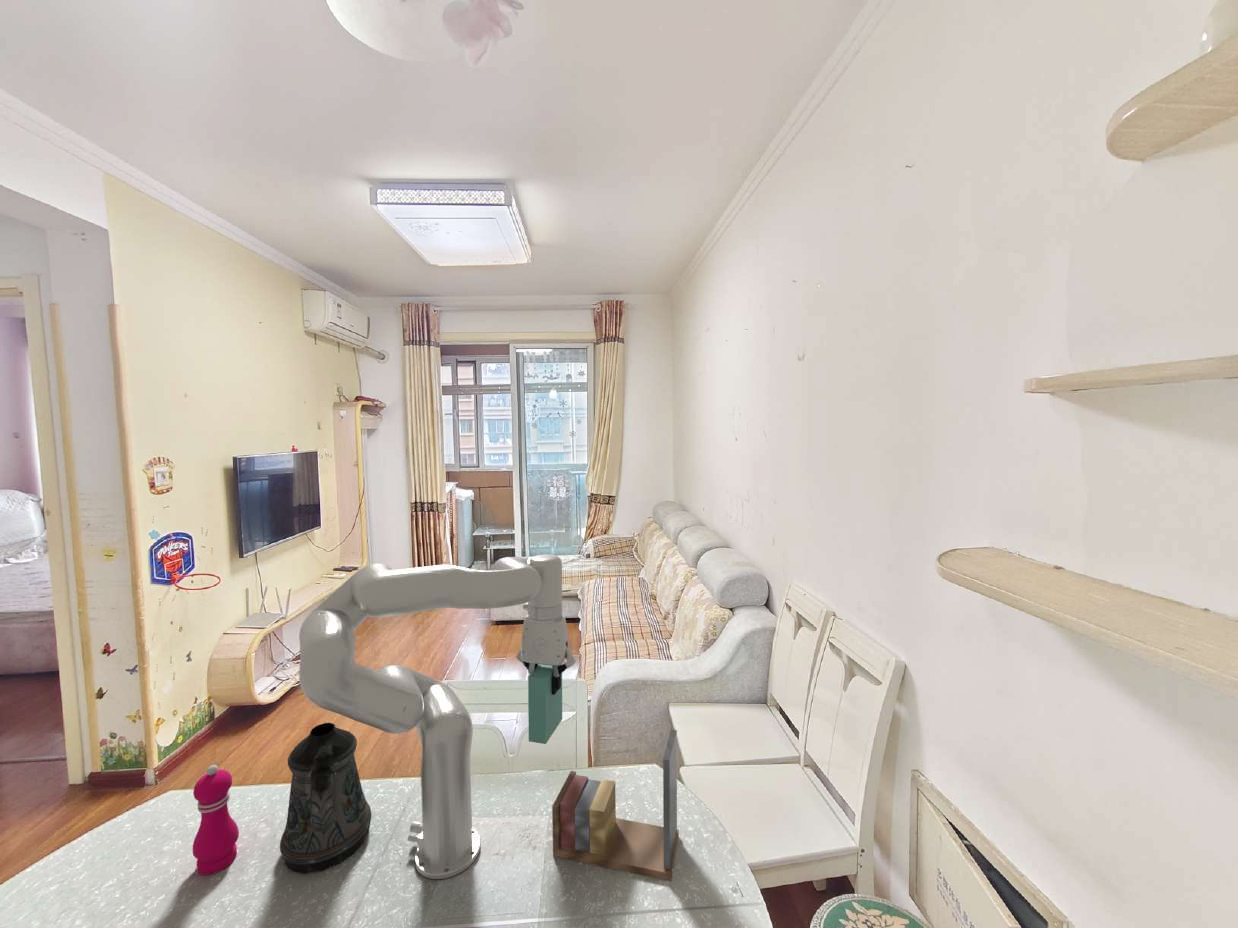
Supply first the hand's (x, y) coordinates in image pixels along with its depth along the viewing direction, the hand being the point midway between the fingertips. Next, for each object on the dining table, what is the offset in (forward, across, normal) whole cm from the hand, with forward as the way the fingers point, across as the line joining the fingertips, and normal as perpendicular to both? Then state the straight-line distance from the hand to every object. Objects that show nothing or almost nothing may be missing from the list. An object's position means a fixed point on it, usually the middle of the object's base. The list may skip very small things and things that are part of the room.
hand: (545, 689), depth 113 cm
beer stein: (+28, -40, -20) cm, 53 cm away
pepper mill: (+28, -59, -30) cm, 72 cm away
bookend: (+26, +30, -7) cm, 40 cm away
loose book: (+9, 0, 0) cm, 9 cm away
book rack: (+28, +18, -6) cm, 34 cm away
